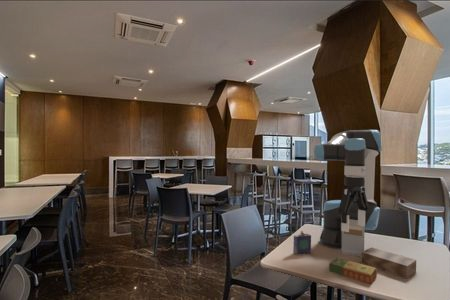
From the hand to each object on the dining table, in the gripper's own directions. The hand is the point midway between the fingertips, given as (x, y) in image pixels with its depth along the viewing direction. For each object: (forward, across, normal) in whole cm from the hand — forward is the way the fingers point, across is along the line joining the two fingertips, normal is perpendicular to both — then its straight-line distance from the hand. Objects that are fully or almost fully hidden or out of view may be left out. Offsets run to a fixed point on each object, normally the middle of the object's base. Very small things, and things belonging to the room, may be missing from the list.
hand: (353, 228), depth 111 cm
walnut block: (+19, +19, -6) cm, 27 cm away
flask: (+19, +2, +26) cm, 32 cm away
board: (+19, +22, +11) cm, 31 cm away
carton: (+19, 0, 0) cm, 19 cm away
